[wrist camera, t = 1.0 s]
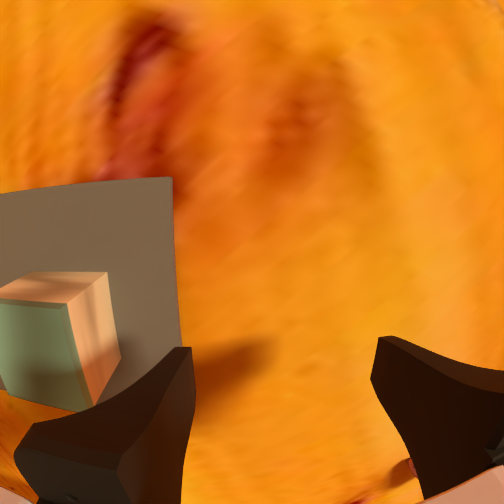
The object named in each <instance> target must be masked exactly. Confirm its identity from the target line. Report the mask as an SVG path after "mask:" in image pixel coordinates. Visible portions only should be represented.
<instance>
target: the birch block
mask: <svg viewBox="0 0 504 504" xmlns="http://www.w3.org/2000/svg"><path fill="white" fill-rule="evenodd" d="M120 360H121V355H120V350H119V345H118V340H117V334H116V329H115V323H114V317H113V311H112V304H111V297H110V290H109V282H108V274H107V272H55V271H32V272H30V273H28V274H26V275H24V276H22V277H20V278H18V279H16V280H15V281H13V282H11V283H9V284H7V285H5V286H3V287H1V288H0V375H1V378H2V380H3V382H4V385H5V387H6V390H7V392H8V394H9V395H10V396H14V397H17V398H21V399H24V400H28V401H31V402H35V403H39V404H43V405H47V406H51V407H55V408H60V409H64V410H69V411H74V412H81V411H84V410H86V409H89V408H91V407H93V406H95V404H96V402H97V400H98V399H99V397H100V395H101V393H102V391H103V390H104V388H105V386H106V384H107V382H108V381H109V379H110V377H111V375H112V374H113V372H114V370H115V368H116V367H117V365H118V363H119V361H120Z"/></svg>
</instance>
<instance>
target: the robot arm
mask: <svg viewBox="0 0 504 504" xmlns="http://www.w3.org/2000/svg"><path fill="white" fill-rule="evenodd" d="M370 380H371V383H372V385H373V388H374V390H375V393H376V395H377V397H378V399H379V401H380V403H381V404H382V406H383V408H384V409H385V411H386V413H387V414H388V416H389V417H390V419H391V421H392V422H393V424H394V426H395V427H396V429H397V431H398V432H399V434H400V435H401V437H402V439H403V441H404V443H405V445H406V448H407V450H408V452H409V455H410V457H411V459H412V462H413V465H414V468H415V470H416V473H417V476H418V479H419V483H420V486H421V489H422V493H423V497H424V501H421V502H418V503H416V504H504V371H501V370H493V369H487V368H481V367H477V366H473V365H469V364H465V363H461V362H458V361H455V360H452V359H449V358H447V357H444V356H441V355H439V354H436V353H434V352H432V351H429V350H427V349H424V348H422V347H420V346H418V345H415V344H413V343H411V342H408V341H406V340H403V339H401V338H398V337H395V336H384V337H379V338H378V344H377V349H376V354H375V359H374V364H373V368H372V373H371V377H370ZM195 397H196V387H195V378H194V369H193V359H192V349H191V347H174V348H173V349H172V350H171V351H170V352H169V353H168V354H167V355H166V356H165V357H164V358H163V359H162V360H161V361H160V362H158V363H157V364H156V365H155V366H154V367H153V368H152V369H151V370H150V371H149V372H147V373H146V374H145V375H144V376H142V377H141V378H140V379H139V380H137V381H136V382H135V383H134V384H132V385H131V386H130V387H128V388H127V389H125V390H124V391H122V392H120V393H119V394H117V395H115V396H114V397H112V398H110V399H108V400H106V401H104V402H102V403H100V404H98V405H95V406H93V407H91V408H89V409H86V410H84V411H81V412H78V413H75V414H72V415H69V416H66V417H62V418H58V419H53V420H48V421H44V422H38V423H33V425H32V426H31V427H30V429H29V430H28V432H27V433H26V435H25V436H24V438H23V439H22V441H21V442H20V444H19V445H18V447H17V448H16V450H15V452H14V460H15V463H16V466H17V468H18V469H19V471H20V473H21V474H22V476H23V477H24V478H25V480H26V481H27V482H28V484H29V485H30V486H31V488H32V489H33V490H34V491H35V493H36V494H37V495H38V496H39V499H38V502H37V504H181V489H182V475H183V465H184V458H185V453H186V449H187V444H188V439H189V435H190V430H191V426H192V421H193V416H194V410H195ZM0 504H34V503H33V502H31V501H30V500H28V499H26V498H24V497H22V496H20V495H18V494H16V493H14V492H12V491H10V490H7V489H5V488H3V487H1V486H0Z"/></svg>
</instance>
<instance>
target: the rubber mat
mask: <svg viewBox="0 0 504 504" xmlns="http://www.w3.org/2000/svg"><path fill="white" fill-rule="evenodd" d="M32 271H55V272H107V274H108V282H109V290H110V297H111V304H112V311H113V317H114V323H115V329H116V334H117V340H118V345H119V350H120V355H121V360H120V361H119V363H118V365H117V367H116V368H115V370H114V372H113V374H112V375H111V377H110V379H109V381H108V382H107V384H106V386H105V388H104V390H103V391H102V393H101V395H100V397H99V399H98V400H97V402H96V404H95V405H98V404H100V403H102V402H104V401H106V400H108V399H110V398H112V397H114V396H115V395H117V394H119V393H120V392H122V391H124V390H125V389H127V388H128V387H130V386H131V385H132V384H134V383H135V382H136V381H137V380H139V379H140V378H141V377H142V376H144V375H145V374H146V373H147V372H149V371H150V370H151V369H152V368H153V367H154V366H155V365H156V364H157V363H158V362H160V361H161V360H162V359H163V358H164V357H165V356H166V355H167V354H168V353H169V352H170V351H171V350H172V349H173V348H174V347H182V340H181V330H180V319H179V308H178V295H177V282H176V266H175V248H174V224H173V178H172V177H155V178H138V179H124V180H111V181H100V182H89V183H79V184H70V185H61V186H53V187H45V188H38V189H30V190H23V191H17V192H10V193H4V194H0V288H1V287H3V286H5V285H7V284H9V283H11V282H13V281H15V280H16V279H18V278H20V277H22V276H24V275H26V274H28V273H30V272H32ZM0 389H2V390H5V391H7V390H6V387H5V385H4V382H3V380H2V378H1V375H0Z"/></svg>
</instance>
